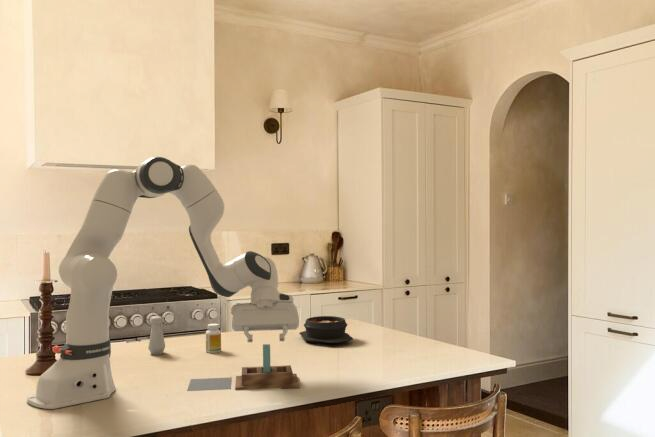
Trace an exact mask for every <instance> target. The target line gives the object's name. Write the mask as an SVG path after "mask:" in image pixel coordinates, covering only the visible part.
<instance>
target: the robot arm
mask: <svg viewBox="0 0 655 437" xmlns="http://www.w3.org/2000/svg"><path fill="white" fill-rule="evenodd" d="M168 193H169V194H172V195H173V196H175V197H176V198H177V199H178V200H179V202H180V203H181V205H182V206H183V208H184V209H185V211H186V213H187V215H188V218H189V222H190V223H189V226H188V231H189V232H188V233H189V236H190V239H191V241H192V244H193V246H194V248H195V250H196V252H197V255H198V257H199V260H200V261H201V263H202V265H203V267H204V269H205V271H206V274H207V277H208V281H209V283H210V287H211V288H212V291H214V293H215V294H217V295H219V296H221V297H225V298H231V297H232V296H234V295H235V294H237V293H239V292H240V291H241V290H243V289H246V288H247V287H250V288H251V292H250V302H244V303H241V302H240V303H239V302H237V303H236V304H234V305H232V306H231V308H230V313H231V315H232V318H231V328H232V330H233V331H234V332H243V335H245V337H246V339H247V343H253V340H254V339H253V334H251V333H250V332H256V331H282V333H279V336H278V339H279V342H285V340H286V339H285V338H286V335H287V334H288V331H289V330H294V331H295V330H298V328H299V325H300V318H299V317H300V316H299V312H298V308H297V306H296V304H294V297H293V296H292V295H291V294H286V293H282V292H279V290H278V286H279V275H278V270H277V266H276V264H275V262H274V260H273V259H271V258H270V257H268V256H267V257H266V256H263V255H262V254H259V253H257V252H255V251H252V250H248V251H246V252H244V253H242V254H240V255H238V256H236V257H235V258H233V259H231V260H230V261H227V262H226V263H223V262H221V260H220V258H219V256H218V254H217V251H216V249H215V248H214V245H213V243H212V238H211V237H212V233H213V231H214V229H215V228H216V226H217V225H218V224H219V222H220V221H221V219H222V218H223V216H224V212H225V203H224V200H223V198H222V196H221V195H220V193H219V191H218V189H216V187H215V185H214V184H213V182H212V181H211V180H210V179H209V178H208V176H207V175H206V173H204V171H202V169H201V168H199V167H198V166H197V165H194V164H185V165H182V166H181V165H179V164H176V163H175V162H173V161H171V160H170V159H168V158H166V157H164V156H163V157H162V156H153V157H150V158H148V159H145V160H144V161H142V162H141V163H140V164H139V165H138V166H137V167H136V168H135V169H134V170H133V171H127V170H124V169H119V168H117V169H112V170H108V172H107V173H106V174H105V175H104V177H103V178H102V180H101V182H100V183H99V185H98V187H97V189H96V191H95V193H94V196H93V197H92V200H91V203H90V205H89V208H88V210H87V213H86V215H85V218H84V221H83V223H82V225H81V227H80V229H79V230H78V233H77V235H76V236H75V237H74V240H73V241H72V242H71V245H70V247H69V248H68V250H67V252H66V254H65V256H64V257H63V258H62V260H61V262H60V263H59V267H58V274H59V277H60V279H61V281H62V282H63V284H64V285H65V286H66V287H69V288H70V289H71V290H70V298H69V304H68V309H67V311H66V314H65V332H66V334H65V337H66V340H65V343H64V345H63V346H61V345H60V346H59V345H56V344H55V345H54V346H53V347H52V352H53V353H54V354H59V355H60V356H59V358H58V359H57V360H56V361H55V362H54V363H53V364H52V365H51V366H49V367H48V368H47V369H46V371H44V372H43V373H42V374H41V375H40V376H39V377H38V380H37V385H36V390H35V391H36V392H35V393H33V394H30V395H28V396H27V400H26V401H27V402H26V403H28V404H29V405H31V406H33V407H35V408H40V409H46V410H54V409H59V408H65V407H70V406H74V405H78V404H79V405H80V404H84V403H89V402H93V401H99V400H100V401H101V400H104V399H109V398H110V397H111V394H113V393H114V392H115V391H116V386H115V382H114V377H113V374H112V369H111V368H112V367H111V354H112V353H111V352H112V350H111V348H112V346H111V339H110V337H109V334H110V329H109V326H110V324H109V322H110V321H109V320H110V319H109V317H110V316H109V314H110V305H111V300H112V295H113V289H114V285H115V284H116V281H117V278H118V270H117V268H116V265H115V264H114V262H113V261H112V260H111V259H109V257H110V256H111V254H112V252H113V250H114V249H115V247H116V246H117V245H118V244H119V243H120V242H121V240H122V238H123V235H124V233H125V230H126V228H127V224H128V223H129V219H130V217H131V214H132V211H133V208H134V205H135V204H136V202H137V200H138V199H139V198H144V199H145V198H146V199H154V198H157V197H162V196H164V195H166V194H168Z"/></svg>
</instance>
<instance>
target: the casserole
mask: <svg viewBox="0 0 655 437" xmlns="http://www.w3.org/2000/svg"><path fill="white" fill-rule="evenodd" d="M303 326H304V328H305V330H303V331H300V332H299V333H298V334H299V335H300V336H301V338H302V339H304V340H306V341H309V342H310V343H311V342H312V343H315V344H320V345H321V344H326V345H327V344H339V343H340V344H341V343H346V342H351V341H353V340H354V337H352V336H351V335H350V334H349V333H347V332H346V329H347V327H348V323H347V321H346V319H345V317H344V318H343V317H340V316H335V315H333V316H332V315H331V316H330V315H321V316H320V315H317V316H311V317H308V318H306V320H305V323H304V324H303Z"/></svg>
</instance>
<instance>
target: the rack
mask: <svg viewBox="0 0 655 437" xmlns="http://www.w3.org/2000/svg"><path fill="white" fill-rule="evenodd" d="M300 384H301V383H300V380H299V378H298V374H297V373H293V369H292V366H291V365H290V364H288V365H270V373H263V365H262V366H244V367H241V375H235V385H234V390H235V391H240V390H261V389H262V390H263V389H264V390H265V389H280V390H286V389H287V390H289V389H291V390H292V389H300V388H301V385H300Z"/></svg>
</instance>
